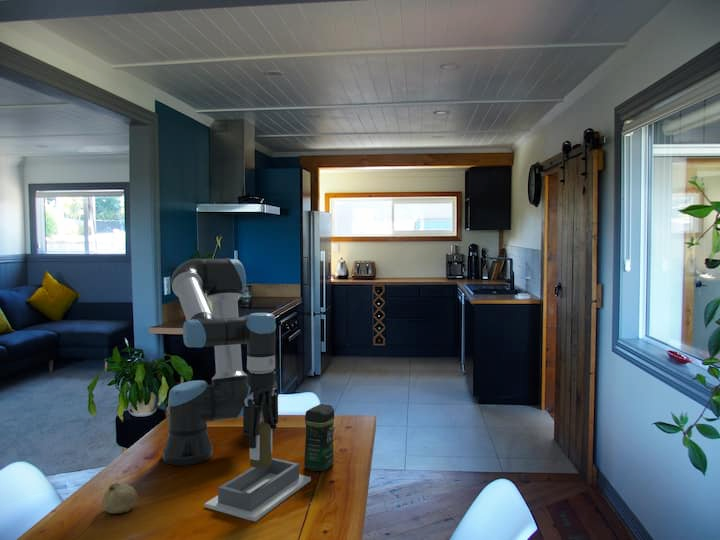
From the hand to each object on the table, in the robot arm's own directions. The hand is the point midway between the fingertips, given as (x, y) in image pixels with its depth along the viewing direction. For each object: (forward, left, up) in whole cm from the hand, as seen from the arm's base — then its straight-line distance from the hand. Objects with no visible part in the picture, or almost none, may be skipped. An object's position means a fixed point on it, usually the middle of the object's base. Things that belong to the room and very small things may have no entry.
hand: (261, 455), depth 143 cm
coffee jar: (+5, +23, -11) cm, 26 cm away
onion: (-26, -24, -11) cm, 37 cm away
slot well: (0, 0, -11) cm, 11 cm away
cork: (0, 0, -2) cm, 2 cm away
